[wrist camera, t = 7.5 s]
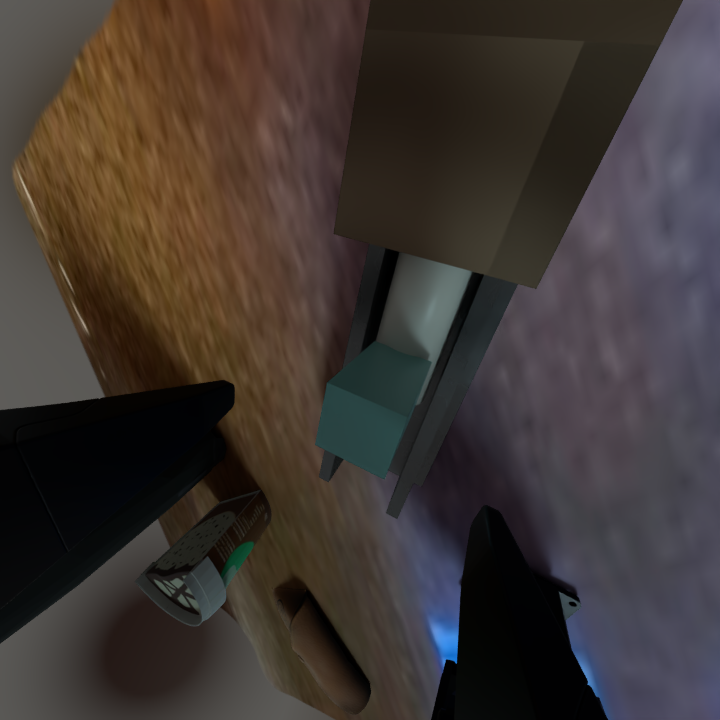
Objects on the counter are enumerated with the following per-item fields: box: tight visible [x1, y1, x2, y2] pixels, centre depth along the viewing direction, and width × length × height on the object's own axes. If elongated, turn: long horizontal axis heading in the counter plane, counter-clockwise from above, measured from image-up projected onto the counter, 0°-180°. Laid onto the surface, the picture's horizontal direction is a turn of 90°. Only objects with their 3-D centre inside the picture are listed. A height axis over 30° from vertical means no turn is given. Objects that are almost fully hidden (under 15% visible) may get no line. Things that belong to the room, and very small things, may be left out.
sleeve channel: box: [319, 244, 518, 519], centre depth 17 cm, size 16×8×4 cm, turn 167°
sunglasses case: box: [272, 588, 371, 715], centre depth 37 cm, size 18×7×7 cm, turn 31°
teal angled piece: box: [315, 252, 474, 479], centre depth 11 cm, size 13×4×8 cm, turn 167°
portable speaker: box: [0, 431, 226, 643], centre depth 24 cm, size 9×9×20 cm
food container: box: [135, 490, 271, 626], centre depth 30 cm, size 12×6×10 cm, turn 125°
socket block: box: [334, 0, 683, 289], centre depth 11 cm, size 7×8×7 cm
